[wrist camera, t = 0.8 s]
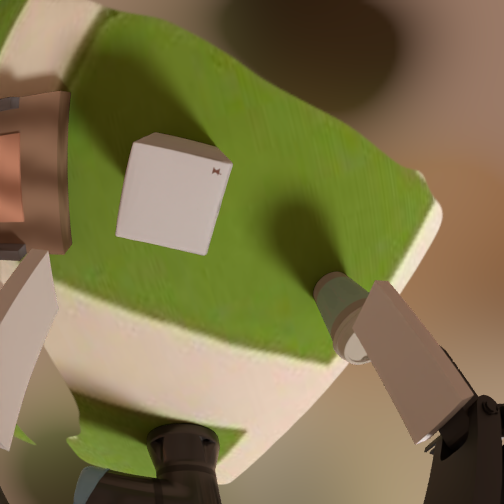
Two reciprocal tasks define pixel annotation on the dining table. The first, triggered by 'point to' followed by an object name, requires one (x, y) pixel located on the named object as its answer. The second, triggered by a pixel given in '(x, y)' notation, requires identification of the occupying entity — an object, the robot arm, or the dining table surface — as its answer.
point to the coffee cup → (342, 314)
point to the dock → (34, 174)
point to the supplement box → (172, 192)
